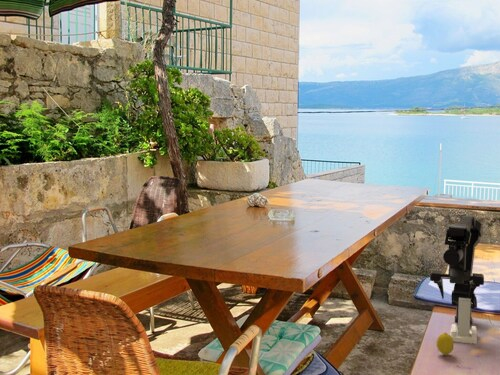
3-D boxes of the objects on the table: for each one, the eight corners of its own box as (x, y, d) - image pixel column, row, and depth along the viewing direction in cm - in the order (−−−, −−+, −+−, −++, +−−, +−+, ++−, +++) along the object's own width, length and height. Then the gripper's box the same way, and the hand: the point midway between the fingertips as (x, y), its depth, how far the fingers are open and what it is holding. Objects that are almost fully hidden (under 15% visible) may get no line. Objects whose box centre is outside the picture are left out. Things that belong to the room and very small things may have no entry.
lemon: (433, 353, 206) (433, 331, 205) (446, 350, 208) (446, 328, 207) (443, 359, 201) (444, 336, 200) (456, 356, 203) (457, 334, 202)
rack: (450, 332, 225) (451, 323, 225) (476, 335, 222) (476, 326, 222) (450, 341, 217) (450, 331, 216) (476, 344, 214) (477, 334, 213)
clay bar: (458, 331, 222) (459, 297, 220) (469, 332, 221) (470, 298, 219) (457, 335, 218) (458, 300, 217) (469, 336, 217) (470, 302, 215)
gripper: (429, 262, 216) (428, 304, 218) (485, 266, 210) (483, 309, 212) (431, 255, 227) (430, 295, 229) (484, 258, 220) (482, 299, 222)
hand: (456, 299), depth 223 cm, fingers open, 9 cm apart
